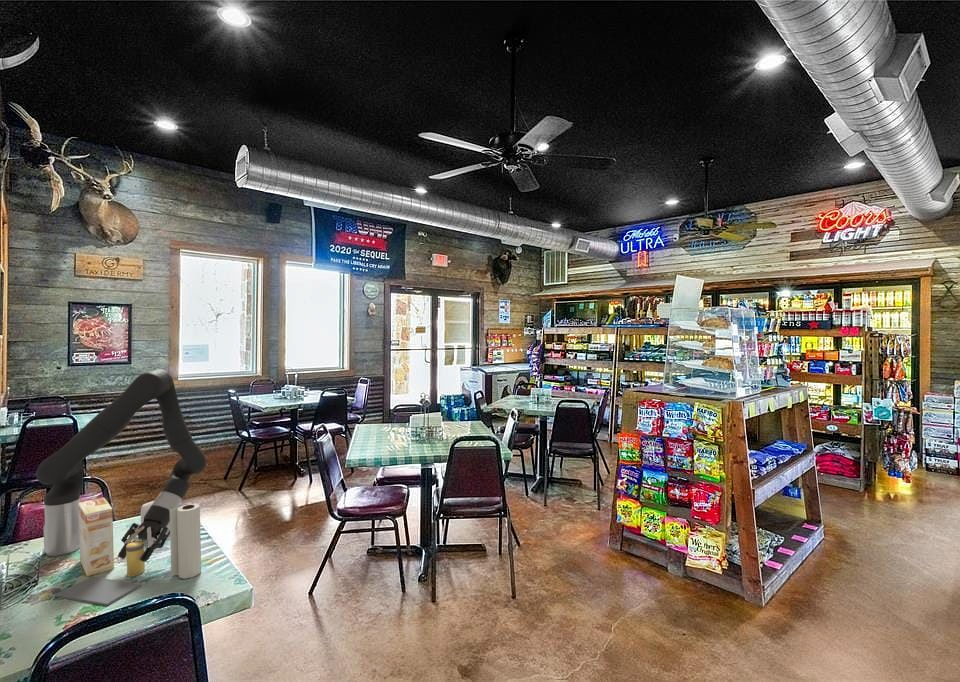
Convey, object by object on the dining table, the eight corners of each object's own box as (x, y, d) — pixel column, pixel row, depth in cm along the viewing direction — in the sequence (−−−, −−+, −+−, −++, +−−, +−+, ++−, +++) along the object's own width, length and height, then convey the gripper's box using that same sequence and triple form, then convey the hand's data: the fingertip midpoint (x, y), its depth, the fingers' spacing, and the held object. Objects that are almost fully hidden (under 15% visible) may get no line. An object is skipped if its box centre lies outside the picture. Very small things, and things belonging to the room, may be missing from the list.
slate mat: (55, 596, 134) (54, 594, 134) (91, 578, 144) (91, 576, 144) (107, 605, 129) (107, 603, 129) (141, 586, 139) (141, 584, 139)
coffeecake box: (115, 568, 149) (113, 508, 149) (86, 577, 144) (84, 514, 144) (106, 552, 160) (104, 496, 159) (79, 560, 154) (77, 502, 154)
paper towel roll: (205, 570, 148) (204, 504, 147) (188, 580, 142) (186, 511, 141) (188, 567, 150) (187, 501, 149) (171, 576, 144) (169, 508, 144)
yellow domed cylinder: (123, 575, 145) (122, 546, 145) (136, 567, 150) (136, 540, 150) (134, 576, 144) (134, 548, 144) (148, 569, 149) (147, 541, 148)
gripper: (138, 502, 155) (104, 552, 145) (173, 506, 152) (141, 557, 141) (153, 511, 161) (121, 561, 150) (187, 515, 157) (158, 566, 147)
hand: (131, 559), depth 146 cm, fingers open, 8 cm apart
